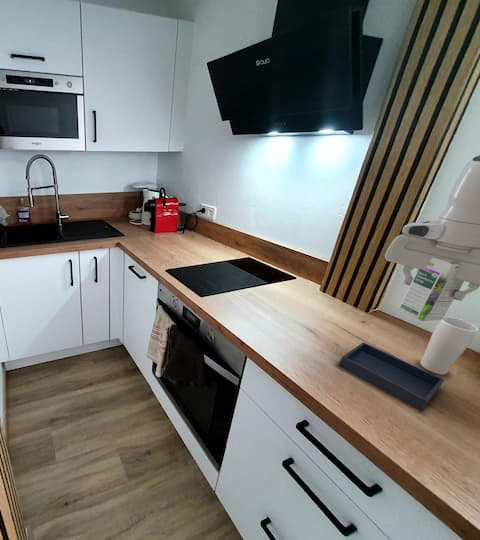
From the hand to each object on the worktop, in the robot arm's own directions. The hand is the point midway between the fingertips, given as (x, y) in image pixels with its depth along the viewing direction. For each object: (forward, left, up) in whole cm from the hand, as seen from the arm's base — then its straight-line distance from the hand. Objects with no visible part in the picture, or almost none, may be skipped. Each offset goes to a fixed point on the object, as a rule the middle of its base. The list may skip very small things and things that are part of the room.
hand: (431, 291), depth 66 cm
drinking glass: (-5, -15, -26) cm, 31 cm away
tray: (0, 0, -26) cm, 26 cm away
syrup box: (0, 0, -6) cm, 7 cm away
